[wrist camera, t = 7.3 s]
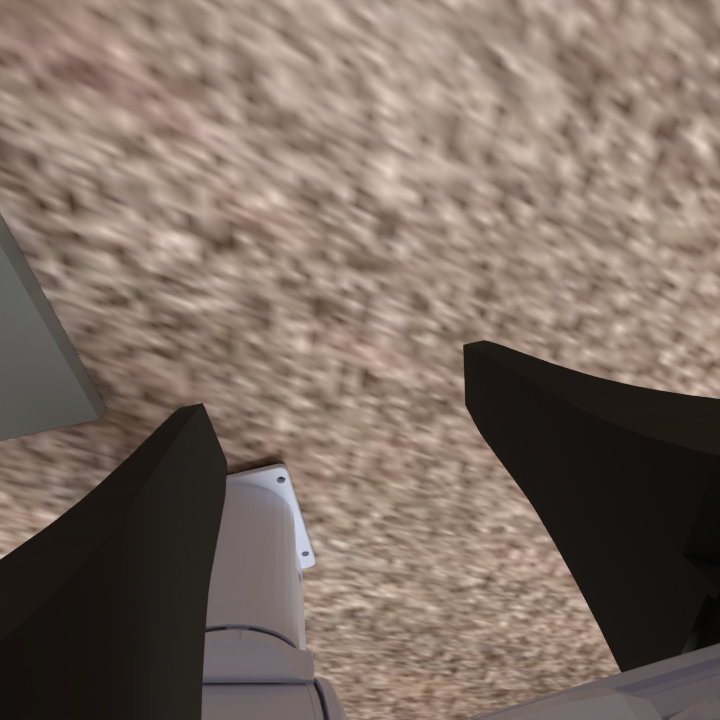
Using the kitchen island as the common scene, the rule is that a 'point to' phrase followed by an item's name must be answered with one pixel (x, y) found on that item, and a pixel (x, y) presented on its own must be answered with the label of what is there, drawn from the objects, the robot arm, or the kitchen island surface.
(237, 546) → the robot arm
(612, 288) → the kitchen island surface
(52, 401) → the board
